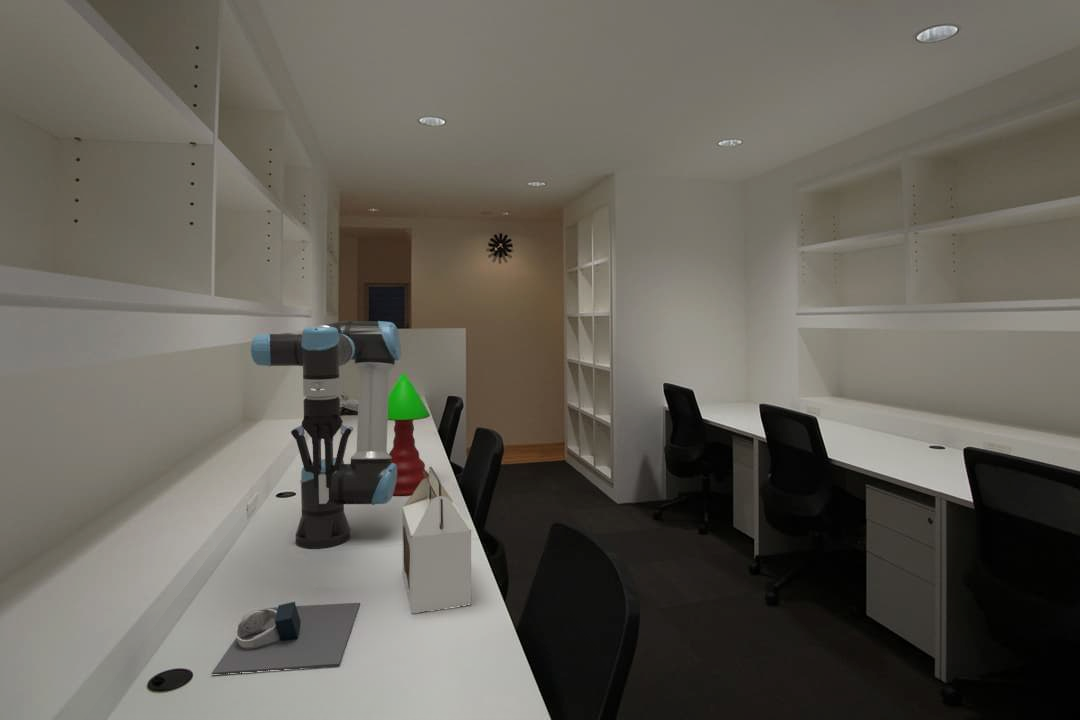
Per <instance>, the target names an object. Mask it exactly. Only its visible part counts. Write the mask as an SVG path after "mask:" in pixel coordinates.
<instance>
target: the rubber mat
mask: <svg viewBox="0 0 1080 720" xmlns="http://www.w3.org/2000/svg"><path fill="white" fill-rule="evenodd" d="M360 606H361V602H346V603H345V602H344V603H328V604H326V603H325V604H314V605H313V604H310V605H296V608H297V611H298V614H299V618H300V621H301V624H300V630H299V635H298V639H295V640H286V641H281V640H280V637H279V634H277V635H276V637H275V638H274V639H272V640H271V641H269V642H268V643H266V644H264V645H262V646H260V647H258V648H252V649H244V648H242V647H240V645H239V643H238V641H237V638H236V637H235V639H233V641H232V643H231V644H230V646H229V647H228V648H227V650H226V651H225V653H224V655H223V656H222V657H221V659H220V660H219V662H218V663H217V665H216V666H215V667H214V668H213V670H212V672H211V675H212V674H228V673H229V674H230V673H240V672H241V673H242V672H257V671H268V670H269V671H270V670H284V669H300V668H314V669H325V668H326V667H327V668H339V667H340V666H341V663H342V660H343V657H344V654H345V650H346V648H347V646H348V642H349V638H350V636H351V633H352V629H353V627H354V625H355V622H354V621H356V619H355V618H357V616H356V615H358V613H357V612H359V609H360ZM266 608H267V609H273V610H276V611H277V609H278V606H276V607H266ZM274 625H275V619H274V618H273V619H271V621H269V622H268V623H266V624H265V625H264V626H263V628H262V629H260V631H259V632H258V633H256V632H255V633H250V634H247V635H245V636H243V637H242V636H241V639H242V640H250V639H253V638H254V637H255V636H257V635H259V634H261V633H263V632H265V631H266V630H268V629H269V628H273V627H274ZM338 666H339V667H338ZM322 667H323V668H322ZM324 667H325V668H324Z"/></svg>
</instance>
